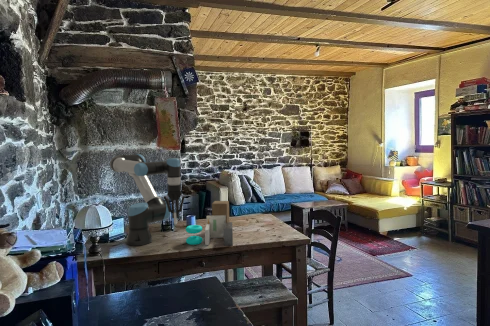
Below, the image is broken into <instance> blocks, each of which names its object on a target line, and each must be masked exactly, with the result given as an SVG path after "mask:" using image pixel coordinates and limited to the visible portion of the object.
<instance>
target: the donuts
mask: <svg viewBox="0 0 490 326" xmlns="http://www.w3.org/2000/svg"><path fill="white" fill-rule="evenodd" d="M185 231H186V232H187V233H188V234H199V233H201V232H202V231H203V226H201V225H200V224H199V225H198V224H191V225H188V226H186V228H185ZM185 243H186V244H187V245H191V246H192V245H193V246H194V245H199V244H202V243H203V237H202V236H200V235H191V236H188V237H187V238H186V240H185Z"/></svg>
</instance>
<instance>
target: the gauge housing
mask: <svg viewBox="0 0 490 326" xmlns="http://www.w3.org/2000/svg"><path fill="white" fill-rule="evenodd" d="M208 219H209V224H210V239H216V238H217V239H218V238H223V246H226V247H227V246H228V247H229V246H234V243H233V239H234V238H233V237H234V236H233V222H232V221H231V222H230V221H229V222H226V215H214V216H212V215H206V224H208Z"/></svg>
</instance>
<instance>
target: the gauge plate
mask: <svg viewBox="0 0 490 326" xmlns="http://www.w3.org/2000/svg"><path fill="white" fill-rule="evenodd" d="M210 240H211V238H210V224H209V219H208V224H207V223H206V225H205V228H204V245H205V246H209V245H210Z"/></svg>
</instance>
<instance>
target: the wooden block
mask: <svg viewBox="0 0 490 326" xmlns="http://www.w3.org/2000/svg"><path fill="white" fill-rule="evenodd" d="M214 215H226V222H230V201H229V200H214V201H213V202H212V203H211V216H214Z"/></svg>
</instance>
